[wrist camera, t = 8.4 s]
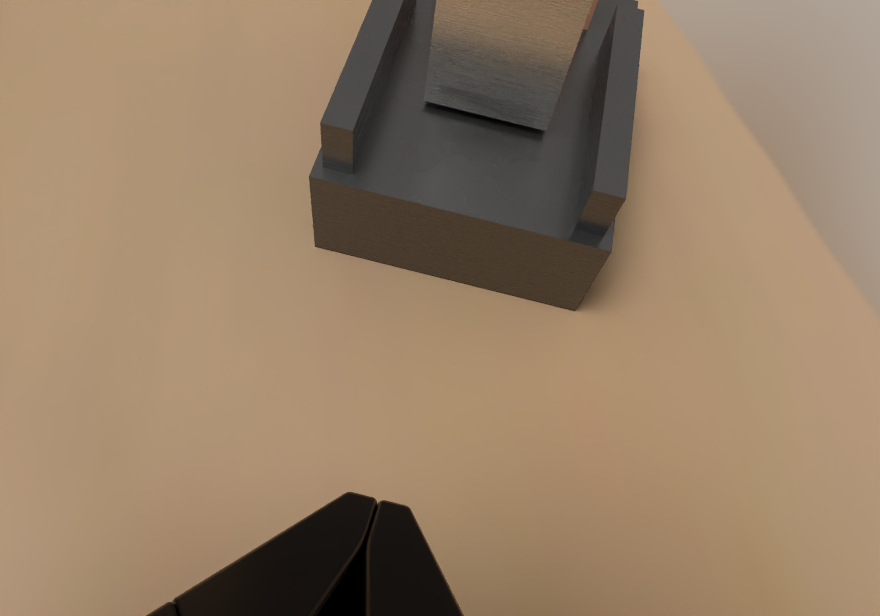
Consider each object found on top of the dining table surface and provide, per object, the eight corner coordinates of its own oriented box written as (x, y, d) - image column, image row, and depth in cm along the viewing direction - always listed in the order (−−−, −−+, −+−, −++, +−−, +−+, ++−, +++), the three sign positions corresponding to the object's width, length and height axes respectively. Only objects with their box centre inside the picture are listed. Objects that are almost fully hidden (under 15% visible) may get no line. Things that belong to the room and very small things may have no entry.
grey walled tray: (574, 310, 25) (634, 213, 20) (314, 246, 25) (305, 132, 20) (606, 76, 31) (657, -44, 26) (399, 25, 31) (408, -105, 26)
